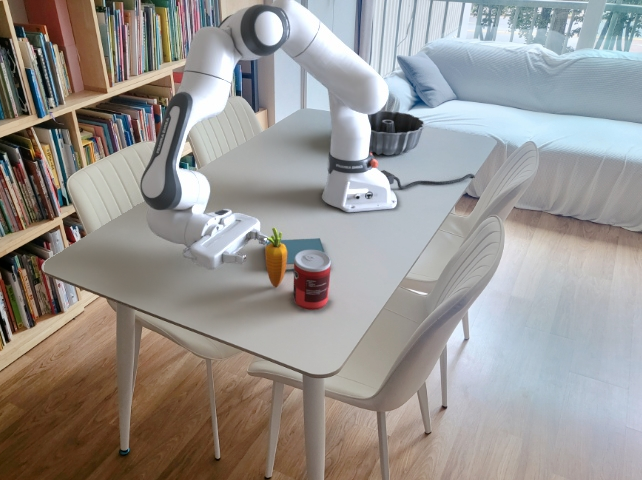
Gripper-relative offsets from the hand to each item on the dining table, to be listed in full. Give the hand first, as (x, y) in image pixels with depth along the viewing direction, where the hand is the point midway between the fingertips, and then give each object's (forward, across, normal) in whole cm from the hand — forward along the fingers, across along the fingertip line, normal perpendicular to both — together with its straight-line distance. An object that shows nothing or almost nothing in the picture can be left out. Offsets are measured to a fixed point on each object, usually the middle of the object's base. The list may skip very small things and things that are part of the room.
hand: (256, 250), depth 118 cm
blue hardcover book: (+3, +13, +8) cm, 16 cm away
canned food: (+14, 0, +9) cm, 17 cm away
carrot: (+5, 0, +9) cm, 10 cm away
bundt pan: (-5, +98, +8) cm, 98 cm away
